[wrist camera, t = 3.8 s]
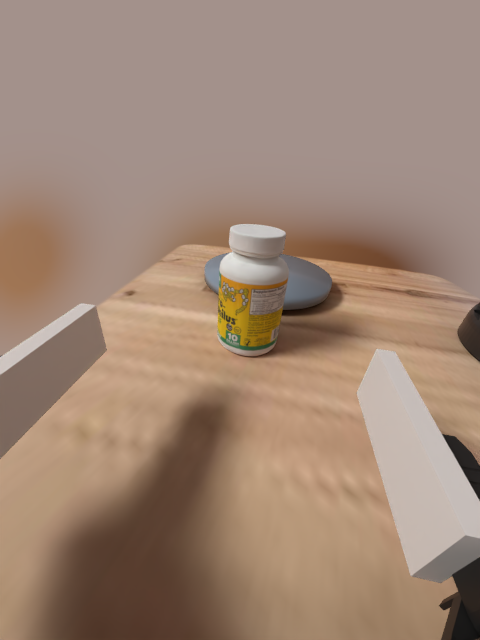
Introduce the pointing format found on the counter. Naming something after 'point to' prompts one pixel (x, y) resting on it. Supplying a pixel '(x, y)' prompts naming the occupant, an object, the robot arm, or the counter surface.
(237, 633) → the counter surface
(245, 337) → the supplement bottle
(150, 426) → the counter surface
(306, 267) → the slate dish
